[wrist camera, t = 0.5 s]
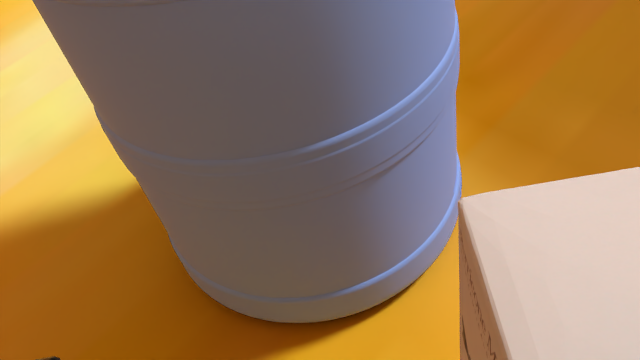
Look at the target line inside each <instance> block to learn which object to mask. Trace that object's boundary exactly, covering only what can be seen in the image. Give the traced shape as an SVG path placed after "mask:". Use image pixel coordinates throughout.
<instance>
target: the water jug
mask: <svg viewBox="0 0 640 360" xmlns="http://www.w3.org/2000/svg"><path fill="white" fill-rule="evenodd" d="M33 2H34V4H35V6H36V7H37V9H38V11H39V12H40V14H41V16H42V18H43V19H44V21H45V23H46V24H47V26H48V28H49V30H50V31H51V33H52V35H53V37H54V38H55V40H56V42H57V43H58V45H59V47H60V49H61V50H62V52H63V54H64V55H65V57H66V59H67V61H68V62H69V64H70V66H71V67H72V69H73V71H74V73H75V74H76V76H77V78H78V79H79V81H80V83H81V85H82V86H83V88H84V90H85V91H86V93H87V95H88V97H89V98H90V100H91V102H92V103H93V105H94V109H95V112H96V115H97V117H98V120H99V122H100V124H101V126H102V128H103V130H104V132H105V134H106V135H107V137H108V139H109V140H110V142H111V144H112V145H113V147H114V149H115V151H116V152H117V154H118V156H119V157H120V159H121V160H122V161H123V163H124V164H125V165H126V167H127V168H128V170H129V171H130V172H131V173H132V174H133V175H134V176H135V177H136V179H137V181H138V182H139V184H140V186H141V188H142V189H143V191H144V193H145V194H146V196H147V198H148V200H149V201H150V203H151V205H152V206H153V208H154V210H155V212H156V213H157V215H158V217H159V218H160V220H161V222H162V224H163V225H164V227H165V229H166V230H167V232H168V235H169V239H170V241H171V244H172V246H173V248H174V250H175V252H176V254H177V256H178V257H179V259H180V261H181V262H182V264H183V266H184V267H185V269H186V271H187V272H188V274H189V275H190V277H191V278H192V279H193V280H194V282H195V283H196V284H197V285H198V286H199V287H200V288H201V289H202V290H203V291H204V292H205V293H207V294H208V295H209V296H210V297H212V298H213V299H214V300H216V301H217V302H219V303H221V304H222V305H224V306H226V307H228V308H230V309H232V310H234V311H236V312H239V313H241V314H244V315H247V316H250V317H254V318H258V319H262V320H267V321H273V322H282V323H311V322H321V321H327V320H333V319H337V318H342V317H346V316H349V315H352V314H356V313H358V312H361V311H364V310H366V309H369V308H371V307H374V306H376V305H378V304H380V303H382V302H384V301H386V300H388V299H389V298H391V297H393V296H394V295H396V294H398V293H399V292H401V291H402V290H404V289H405V288H406V287H408V286H409V285H410V284H412V283H413V282H414V281H415V280H416V279H418V278H419V277H420V276H421V275H422V274H423V273H424V272H425V271H426V270H427V269H428V268H429V267H430V266H431V265H432V263H433V262H434V261H435V260H436V258H437V257H438V256H439V254H440V253H441V252H442V250H443V249H444V247H445V245H446V244H447V242H448V240H449V238H450V236H451V234H452V232H453V229H454V227H455V224H456V221H457V217H458V201H459V200H460V199H461V189H462V178H461V167H460V162H459V157H458V154H457V150H456V88H457V83H458V75H459V26H458V17H457V12H456V9H455V0H33Z"/></svg>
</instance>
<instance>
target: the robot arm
mask: <svg viewBox="0 0 640 360" xmlns="http://www.w3.org/2000/svg"><path fill="white" fill-rule="evenodd" d="M36 360H61V359H60V358H58V357H55V356H52V357H47V358H41V359H36Z"/></svg>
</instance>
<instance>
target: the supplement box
mask: <svg viewBox="0 0 640 360" xmlns="http://www.w3.org/2000/svg"><path fill="white" fill-rule="evenodd" d="M458 215H459V279H460V360H640V167H636V168H630V169H624V170H618V171H613V172H607V173H601V174H595V175H589V176H582V177H576V178H570V179H564V180H559V181H553V182H547V183H541V184H535V185H529V186H523V187H516V188H512V189H503V190H498V191H493V192H487V193H482V194H477V195H473V196H469V197H465V198H461V199H460V200H459V201H458Z"/></svg>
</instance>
